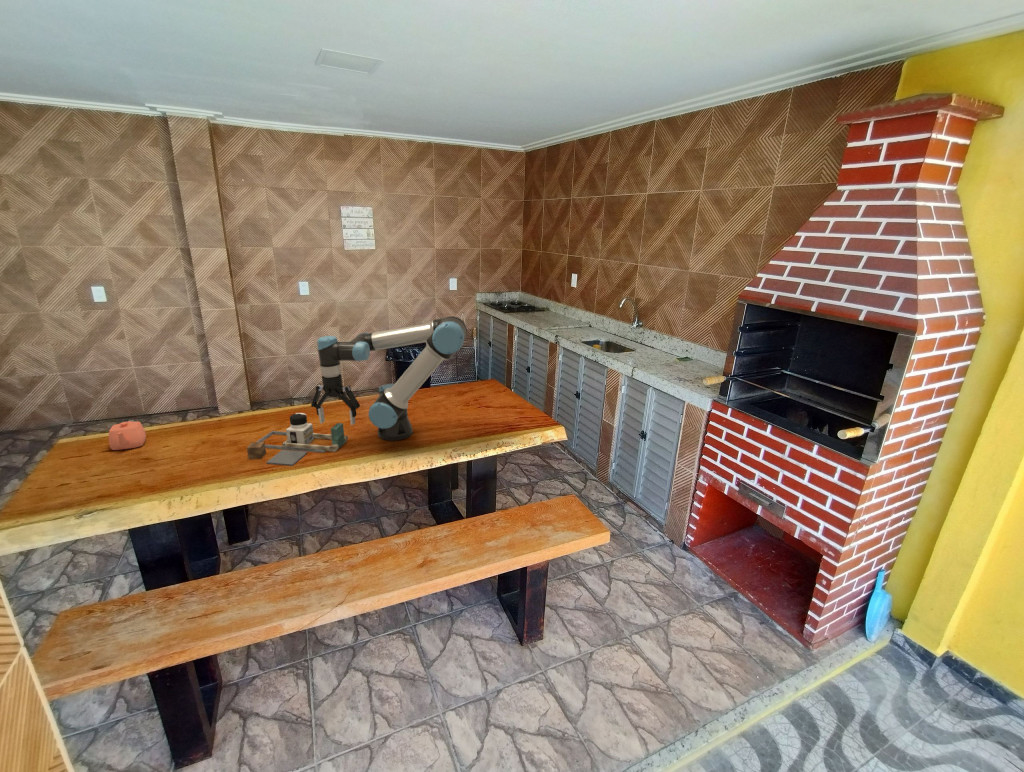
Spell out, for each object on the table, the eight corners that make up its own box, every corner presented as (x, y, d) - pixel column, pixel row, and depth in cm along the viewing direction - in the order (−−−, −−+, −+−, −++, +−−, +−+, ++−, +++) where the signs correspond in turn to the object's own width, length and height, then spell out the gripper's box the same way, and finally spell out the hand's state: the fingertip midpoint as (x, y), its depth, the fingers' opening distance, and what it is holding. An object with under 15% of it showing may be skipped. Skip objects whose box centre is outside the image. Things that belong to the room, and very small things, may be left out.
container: (305, 447, 207) (301, 418, 203) (288, 445, 208) (283, 417, 204) (314, 439, 214) (311, 411, 210) (297, 438, 215) (294, 410, 211)
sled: (347, 439, 214) (346, 420, 211) (335, 451, 203) (333, 431, 200) (297, 436, 217) (295, 417, 214) (282, 447, 206) (279, 427, 203)
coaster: (307, 453, 202) (307, 451, 202) (292, 465, 192) (292, 464, 191) (282, 451, 203) (282, 449, 203) (266, 463, 193) (266, 462, 193)
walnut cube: (266, 452, 202) (264, 441, 200) (261, 458, 197) (259, 447, 195) (253, 453, 201) (251, 442, 199) (248, 459, 196) (246, 447, 195)
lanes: (339, 438, 216) (339, 435, 215) (324, 452, 203) (323, 450, 202) (272, 433, 220) (272, 430, 219) (252, 446, 206) (252, 444, 206)
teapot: (150, 435, 215) (144, 413, 212) (141, 452, 200) (135, 429, 196) (118, 440, 210) (112, 417, 207) (106, 458, 195) (99, 434, 192)
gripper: (364, 372, 200) (369, 420, 207) (307, 370, 203) (314, 418, 210) (356, 378, 193) (362, 428, 200) (297, 376, 196) (305, 425, 203)
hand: (337, 423), depth 205 cm, fingers open, 13 cm apart
